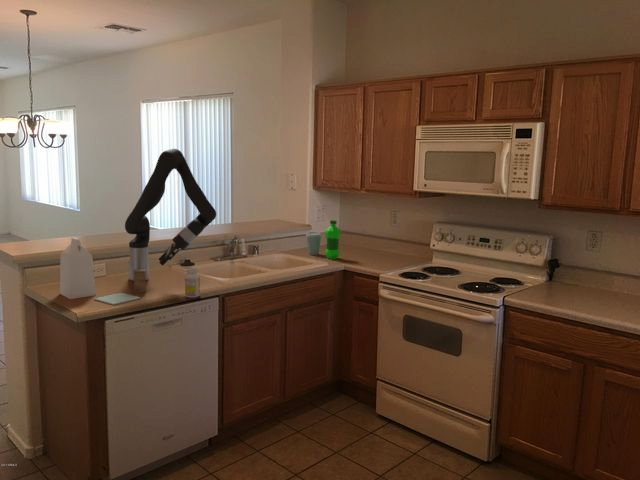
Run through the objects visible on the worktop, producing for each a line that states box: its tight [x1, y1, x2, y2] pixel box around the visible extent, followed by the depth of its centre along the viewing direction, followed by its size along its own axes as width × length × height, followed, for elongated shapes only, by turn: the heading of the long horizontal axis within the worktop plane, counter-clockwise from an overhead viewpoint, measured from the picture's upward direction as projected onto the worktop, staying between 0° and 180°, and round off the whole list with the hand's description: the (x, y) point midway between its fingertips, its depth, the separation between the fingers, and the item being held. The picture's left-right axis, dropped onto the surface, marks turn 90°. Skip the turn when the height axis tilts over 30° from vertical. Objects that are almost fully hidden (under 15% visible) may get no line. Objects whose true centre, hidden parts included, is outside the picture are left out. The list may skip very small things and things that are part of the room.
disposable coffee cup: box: [305, 231, 322, 256], centre depth 365 cm, size 11×11×15 cm
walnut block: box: [133, 269, 147, 293], centre depth 255 cm, size 5×5×10 cm
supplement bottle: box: [184, 267, 201, 299], centre depth 248 cm, size 7×7×13 cm
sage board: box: [93, 292, 142, 306], centre depth 240 cm, size 14×14×1 cm
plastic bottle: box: [324, 219, 342, 260], centre depth 351 cm, size 10×10×25 cm
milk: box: [59, 237, 97, 300], centre depth 245 cm, size 12×12×26 cm
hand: (160, 262), depth 257 cm, fingers open, 8 cm apart
